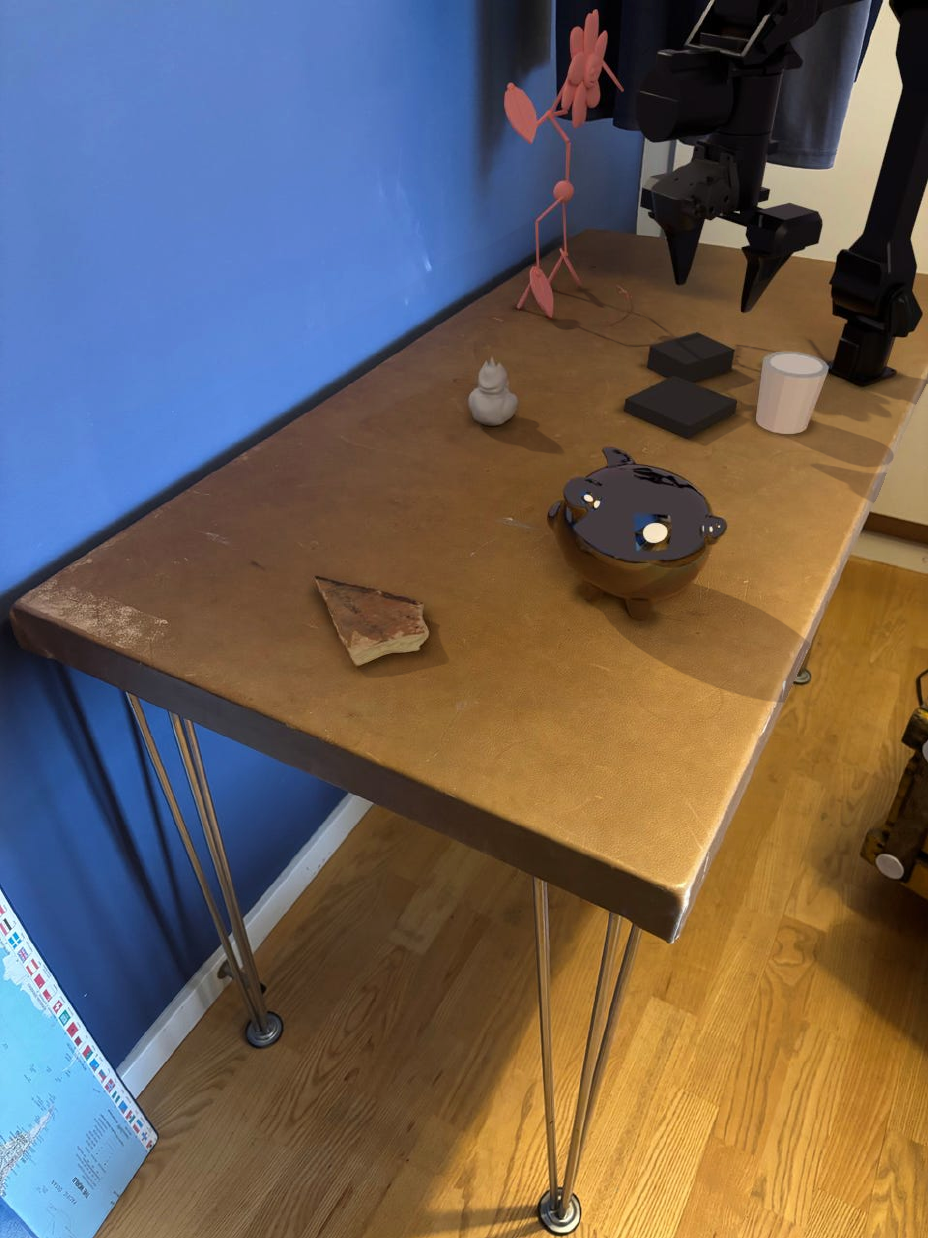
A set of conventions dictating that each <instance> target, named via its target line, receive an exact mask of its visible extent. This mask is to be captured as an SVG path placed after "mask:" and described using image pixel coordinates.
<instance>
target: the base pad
mask: <svg viewBox="0 0 928 1238" xmlns="http://www.w3.org/2000/svg"><path fill="white" fill-rule="evenodd" d="M738 402H739V401H738V400H737V399H735V398H732V397H729V396H727V395H724V394H723V393H720V392H717V391H716V390H715V391H714V390H712V389H709V388H707V387H704V386H702V385H699V384H697V383H692V382H689V381H687V380H684V379H681V378H679V377H676V376H672V377H670V378H666V379H664V380H661V381H660V382H657V383H655V384H652V385H650V386H649V387H646V388H645V389H642V390H640V391H638V392H636V393H634V394H632V395H630V396H628V397H626V398H625V399H624V406H623V407H624V408H623V412H625V413H627V414H629V415H632V416H634V417H637V418H639V419H640V420H643V421H645V422H648V423H651V424H653V425H655V426H656V427H659V428H661V429H663V430H666V431H669V432H670V433H673V434H675V435H677V436H680V437H682V438H685V439H687V440H688V439H690V438H692V437H694V436H696V435H697V434H699V433H702V432H703V431H705V430H707V429H708V428H711V427H712V426H714V425H716V424H718V423H720V422H721V421H724V420H725V419H727V418H729V417H731V416H732V415H735V414H736V412H737V411H736V410H737V407H738Z"/></svg>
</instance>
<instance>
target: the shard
mask: <svg viewBox="0 0 928 1238" xmlns="http://www.w3.org/2000/svg"><path fill="white" fill-rule="evenodd" d="M314 579H315V583H316V586H317V588H318V592H319V593H320V594H321V596H322V599H323V601H324V602H325V603H326V604H327V605H326V606H327V610H328V612H329V615H330V616H331V619H332V622H333V624H334V627H335V628H336V630H337V634H338V637H339V639H340V640H341V642H342V644H343V645H344V646H345V648H346V651H347V652H348V655H349V656H350V659H351V660H352V662H353V663H354V666H356V667H359V666H362V665H364V664H366V663H369V662H371V661H374V660H376V659H378V658H380V657H382V656H386V655H389V654H396V653H397V654H399V653H400V654H401V653H410V652H418V651H420V650H421V648H420V647H421V645H423V644H424V643H425V641H427V639H428V638H429V636H430V631H429V628H428V626H427V624H426V622H425V620H424V617H423V614H424V608H425V602H422V601H419V600H416V599H412V598H410V597H406V596H402V595H394V594H393V593H391V592H388V591H385V590H384V591H383V590H379V589H376V588H373V587H367V586H365V585H364V586H363V585H358V584H353V583H348V582H343V581H337V580H334V579H329V578H327V577H322V576H319V575H314Z"/></svg>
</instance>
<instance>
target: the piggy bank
mask: <svg viewBox="0 0 928 1238" xmlns="http://www.w3.org/2000/svg"><path fill="white" fill-rule="evenodd" d="M601 451H602V453H603V455H604V457H605V459H606V465H605V466H604V467H601V468H599V469H596V470H594V471H592V472H590V473H588V474H587V475H586V476H577V477H574V478H571V479H569V480H568V481H567V482H566V483H565V485H564V487H563V498H564V499H562V500H557V501H556V502H554V503H553V504H552V505H551V506H550V508H549V510H548V511H547V515H546V523H547V526H548V527H549V529H550V530H551V531H552V533H553V535H554V537H555V541H556V545H557V547H558V549H559V552H560V554H561V556H562V557H563V559H564V561H565V563H566V564H567V565H568V567H569V568H570V569H571V570H572V571H573V572H574V573H575V574H576V575H577V576H578V577H580V579H581V583H580V592H579V593H580V595H581V596H582V598H583V599H585V600H588V601H597V600H599V599H600V598H601V597H602V596H603V595H604V594H605V593H608V594H610V595H612V596H615V597H618V598H622V599H624V601H625V604H626V608H627V612H628V615H629V616H631V618H632V619H634V620H638V621H643V620H646V619H648V618H649V617H650V616H651V614H652V611H653V607H654V605H655V603H656V602H657V601H660V600H665V599H668V598H670V597H673V596H675V595H677V594H679V593H680V592H682V591H684V590H685V589H686V588H688V587H689V586H690V585H691V584H692V583H693V582H694V581H695V580H696V579H697V578H698V576H699V575H700V573H701V572H702V571H703V569H704V568H705V566H706V564H707V562H708V560H709V558H710V555H711V554H712V550H713V547H714V546H716V545H717V544H718V543H719V541H720V540H721V539H722V537H723V536H725V535H726V532H727V530H728V522H727V520H726V519H725V518H724V517H722V516H719V515H715V514H714V512H713V508H712V506H711V504H710V502H709V500H708V498H707V497H706V496H705V493H703V491H702V490H701V489H700V488H699V487H697V486H696V484H694V483H693V482H691V480H688V479H687V478H685V477H684V476H682V475H680V474H678V473H676V472H673V471H670V470H668V469H666V468H661V467H659V466H654V465H650V464H649V465H648V464H643V463H637V462H636V461H635V460H634V458H633V457H632V456H631V455H630V453H628V452H627V451H624V450H622V449H620V448H617V447H614V446H604V447H603V448H602V449H601Z"/></svg>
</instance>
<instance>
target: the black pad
mask: <svg viewBox="0 0 928 1238" xmlns="http://www.w3.org/2000/svg"><path fill="white" fill-rule="evenodd" d="M735 351H736V350H735V348H732V347H730V346H728V345H726V344H724V343H721V342H720V341H718V340H715V339H713V338H711V337H709V336H707V335H705V334H703V333H701V332H699V331H697V332H696V331H695V332H693V333H689V334H686V335H682V336H678V337H675V338H672V339H669V340H664V341H661V342H657V343H654V344H652V345H649V348H648V357H647V365H646V368H648V369H649V370H651V371H653V372H655V373H657V374H659V375H660V376H663V377H665V378H666V379H668V378H670V377H672V376H676V377H679V378H681V379H684V380H687V381H689V382H692V383H694V384H696V383H697V382H701V381H704V380H707V379H710V378H714V377H717V376H720V375H723V374H727V373H730V372H731V371H732V367H733V361H734V357H735Z"/></svg>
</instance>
